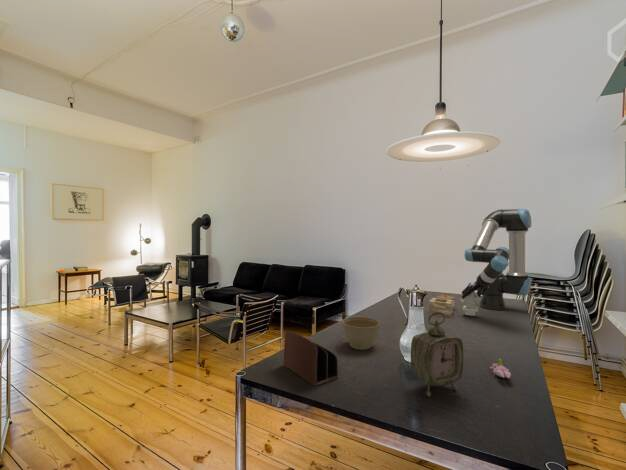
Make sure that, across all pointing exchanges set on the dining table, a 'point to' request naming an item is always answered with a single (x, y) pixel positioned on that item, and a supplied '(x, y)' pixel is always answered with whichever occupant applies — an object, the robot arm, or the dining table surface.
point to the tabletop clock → (437, 356)
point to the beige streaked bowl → (441, 306)
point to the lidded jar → (446, 297)
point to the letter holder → (309, 359)
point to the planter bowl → (360, 331)
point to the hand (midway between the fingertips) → (466, 300)
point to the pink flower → (500, 369)
